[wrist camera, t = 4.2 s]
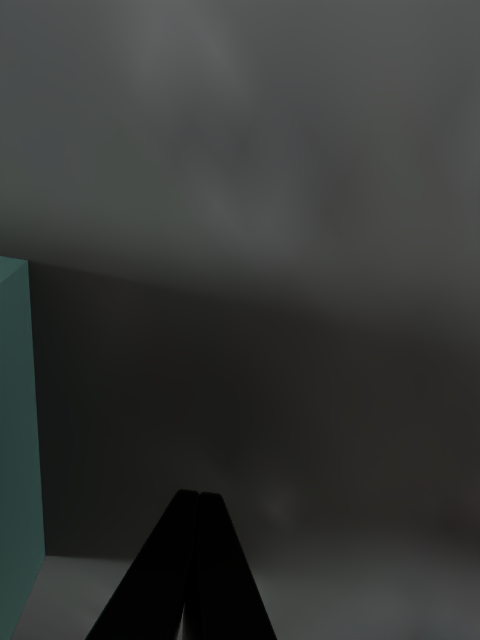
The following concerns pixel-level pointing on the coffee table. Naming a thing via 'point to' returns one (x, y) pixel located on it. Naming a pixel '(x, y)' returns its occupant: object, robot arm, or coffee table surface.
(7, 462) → the holed block
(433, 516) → the coffee table surface
